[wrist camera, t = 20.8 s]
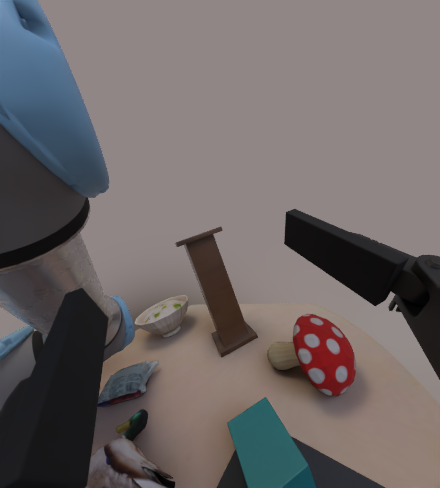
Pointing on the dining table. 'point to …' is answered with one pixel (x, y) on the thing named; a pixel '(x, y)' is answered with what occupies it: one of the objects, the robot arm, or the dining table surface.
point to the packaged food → (126, 383)
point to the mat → (321, 466)
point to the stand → (217, 292)
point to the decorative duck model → (126, 461)
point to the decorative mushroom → (317, 354)
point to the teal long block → (268, 450)
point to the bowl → (164, 316)
